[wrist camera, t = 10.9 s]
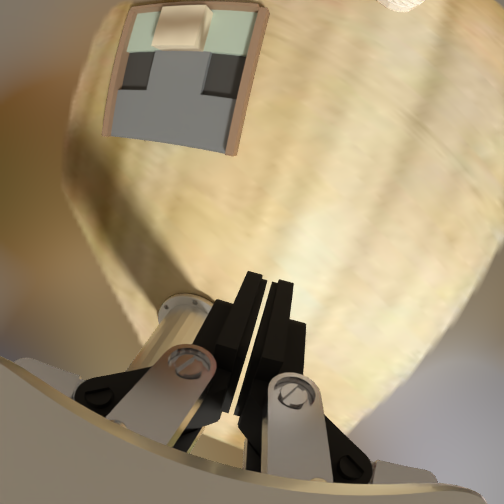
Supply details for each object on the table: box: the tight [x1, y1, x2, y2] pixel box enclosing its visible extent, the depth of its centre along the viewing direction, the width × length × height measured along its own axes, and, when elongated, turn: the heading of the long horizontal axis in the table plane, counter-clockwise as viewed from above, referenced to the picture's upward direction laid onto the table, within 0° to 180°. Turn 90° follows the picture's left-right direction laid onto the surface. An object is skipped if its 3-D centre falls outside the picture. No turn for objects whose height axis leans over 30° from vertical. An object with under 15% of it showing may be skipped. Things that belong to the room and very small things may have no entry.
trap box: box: [102, 1, 270, 156], centre depth 30 cm, size 20×20×3 cm
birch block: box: [151, 5, 213, 52], centre depth 27 cm, size 6×6×3 cm
